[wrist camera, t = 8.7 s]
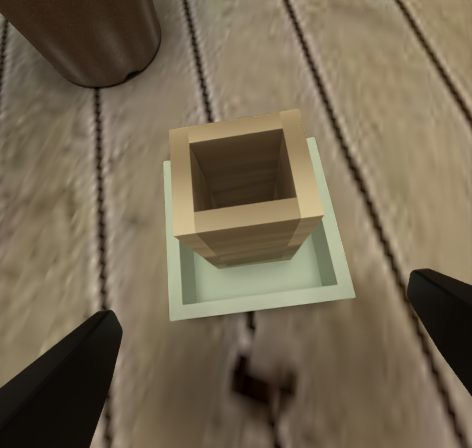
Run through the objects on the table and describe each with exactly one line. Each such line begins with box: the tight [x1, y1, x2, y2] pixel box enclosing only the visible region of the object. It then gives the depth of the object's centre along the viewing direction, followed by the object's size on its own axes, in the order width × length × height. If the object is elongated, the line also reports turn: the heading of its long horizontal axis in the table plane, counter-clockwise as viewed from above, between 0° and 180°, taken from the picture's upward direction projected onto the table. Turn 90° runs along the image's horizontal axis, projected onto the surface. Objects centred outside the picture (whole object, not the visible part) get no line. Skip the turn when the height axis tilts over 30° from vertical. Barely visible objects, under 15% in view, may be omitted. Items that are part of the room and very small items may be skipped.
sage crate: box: [163, 137, 356, 321], centre depth 18 cm, size 11×11×4 cm
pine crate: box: [169, 109, 324, 269], centre depth 14 cm, size 5×5×10 cm
